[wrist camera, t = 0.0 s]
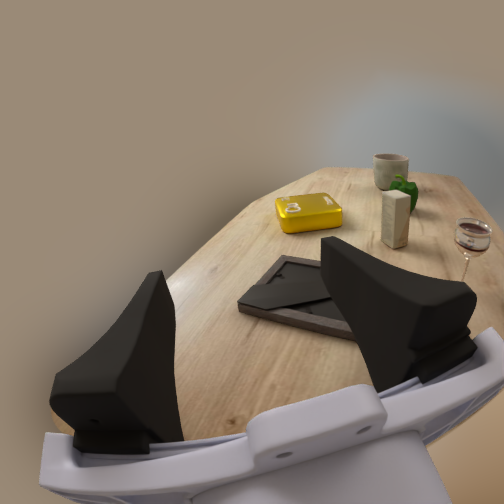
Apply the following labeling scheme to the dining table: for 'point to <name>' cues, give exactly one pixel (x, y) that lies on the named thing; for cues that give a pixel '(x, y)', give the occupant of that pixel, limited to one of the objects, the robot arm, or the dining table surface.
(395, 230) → the box
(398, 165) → the planter
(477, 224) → the wineglass
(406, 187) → the bell pepper
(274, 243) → the dining table surface
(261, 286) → the picture frame
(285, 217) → the element tile
